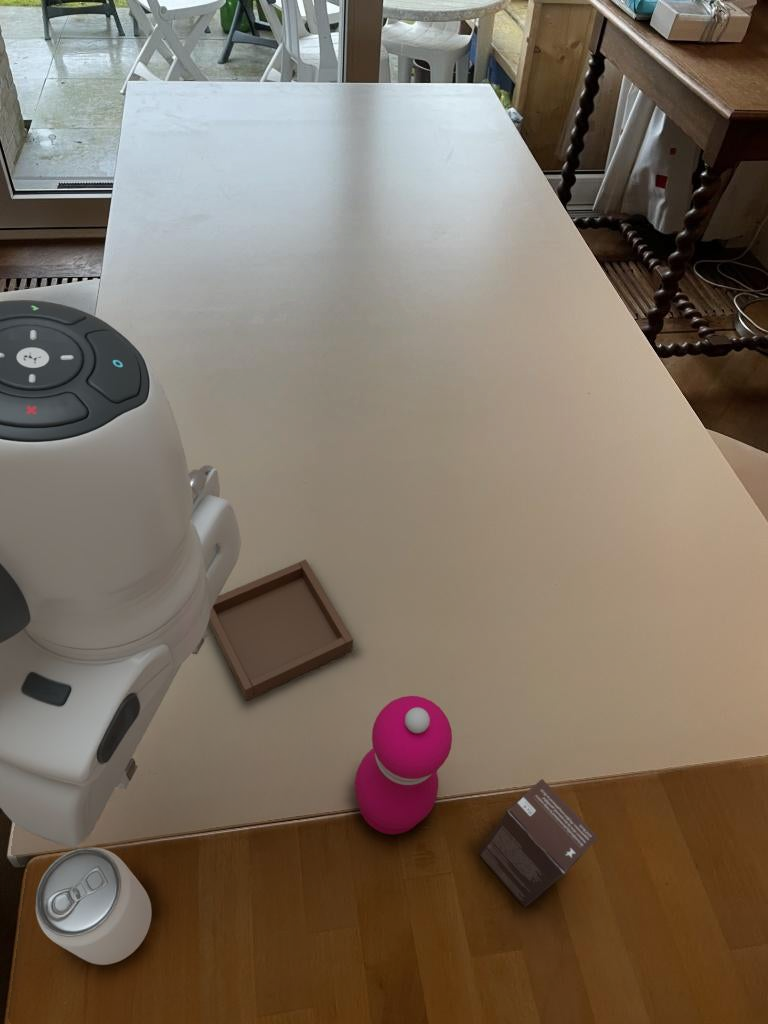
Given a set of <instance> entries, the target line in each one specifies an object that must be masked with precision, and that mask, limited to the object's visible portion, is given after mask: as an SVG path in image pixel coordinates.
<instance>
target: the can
mask: <svg viewBox="0 0 768 1024" xmlns="http://www.w3.org/2000/svg"><path fill="white" fill-rule="evenodd" d="M35 893H36V895H35V914H36V920H37V923H38V925H39V927H40V929H41V930H42V932H43V933H44V934H45V936H46V937H47V938H49V939H50V940H51V941H52V942H53V943H55V944H56V945H58V946H59V947H61V948H63V949H64V950H66V951H68V952H70V953H72V954H73V955H75V956H76V957H78V958H80V959H82V960H84V961H86V962H87V963H90V964H94V965H99V966H107V965H112V964H115V963H118V962H121V961H123V960H124V959H126V958H127V957H129V956H131V955H132V954H133V953H135V951H136V950H137V949H138V948H139V947H140V946H141V944H142V943H143V941H144V940H145V938H146V936H147V934H148V932H149V931H150V930H149V929H150V926H151V922H152V903H151V900H150V897H149V895H148V893H147V891H146V889H145V887H144V886H143V885H142V884H141V882H140V881H139V880H138V878H137V877H136V876H135V875H134V874H133V872H132V871H131V870H130V868H129V867H128V866H127V864H126V863H125V862H124V861H123V860H122V859H121V858H120V857H119V856H118V855H117V854H115V853H113V852H112V851H110V850H107V849H105V848H101V847H82V848H76V849H73V850H70V851H68V852H66V853H64V854H62V855H61V856H59V857H58V858H57V859H55V860H54V861H53V862H52V863H51V864H50V865H49V866H48V867H47V869H46V870H45V872H44V873H43V875H42V877H41V879H40V880H39V883H38V886H37V889H36V892H35Z"/></svg>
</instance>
